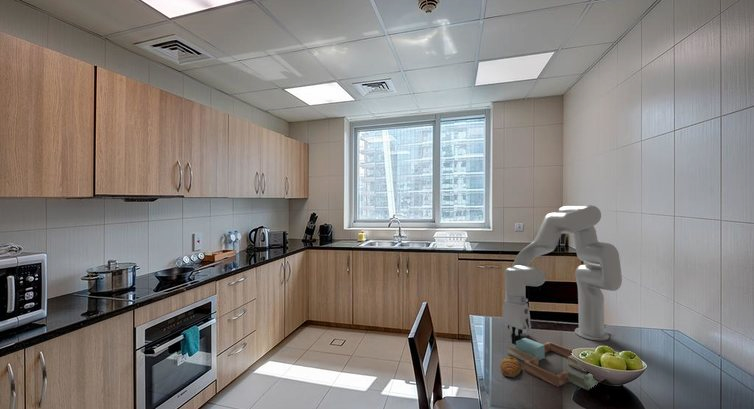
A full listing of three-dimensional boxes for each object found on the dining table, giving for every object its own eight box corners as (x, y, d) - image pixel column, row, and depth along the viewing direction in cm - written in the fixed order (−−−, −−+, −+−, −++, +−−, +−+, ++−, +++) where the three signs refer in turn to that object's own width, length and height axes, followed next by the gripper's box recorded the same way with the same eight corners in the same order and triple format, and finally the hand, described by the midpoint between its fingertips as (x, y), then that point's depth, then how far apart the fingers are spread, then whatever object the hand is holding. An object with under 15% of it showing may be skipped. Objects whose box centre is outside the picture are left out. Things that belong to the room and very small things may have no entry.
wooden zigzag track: (535, 343, 132) (535, 334, 133) (615, 374, 107) (614, 362, 107) (498, 357, 120) (497, 347, 120) (577, 396, 95) (577, 383, 95)
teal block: (525, 350, 127) (525, 337, 127) (544, 358, 120) (544, 344, 120) (516, 353, 124) (515, 341, 124) (535, 362, 117) (535, 348, 117)
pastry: (520, 381, 104) (519, 369, 104) (498, 376, 107) (498, 365, 108) (521, 368, 113) (521, 357, 113) (501, 364, 116) (501, 353, 116)
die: (529, 342, 135) (537, 321, 138) (509, 331, 137) (518, 310, 140) (520, 341, 143) (528, 321, 146) (502, 331, 144) (510, 311, 148)
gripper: (538, 301, 123) (539, 348, 122) (505, 293, 136) (506, 335, 135) (526, 304, 119) (527, 353, 119) (494, 295, 132) (494, 339, 132)
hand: (516, 343), depth 127 cm, fingers closed
